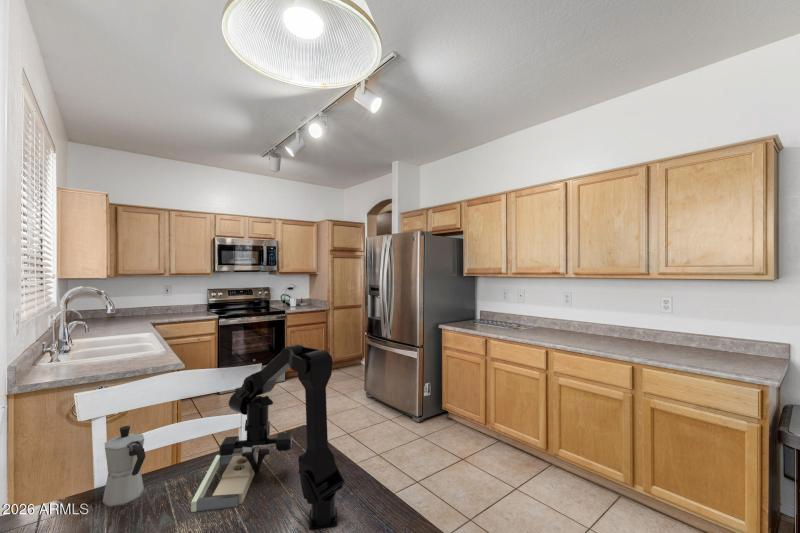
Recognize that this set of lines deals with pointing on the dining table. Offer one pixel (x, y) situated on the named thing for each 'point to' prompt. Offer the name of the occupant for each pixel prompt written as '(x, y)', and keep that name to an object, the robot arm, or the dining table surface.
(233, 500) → the bracket rack
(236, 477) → the electrical outlet
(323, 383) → the robot arm
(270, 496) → the dining table surface
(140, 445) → the coffee maker
